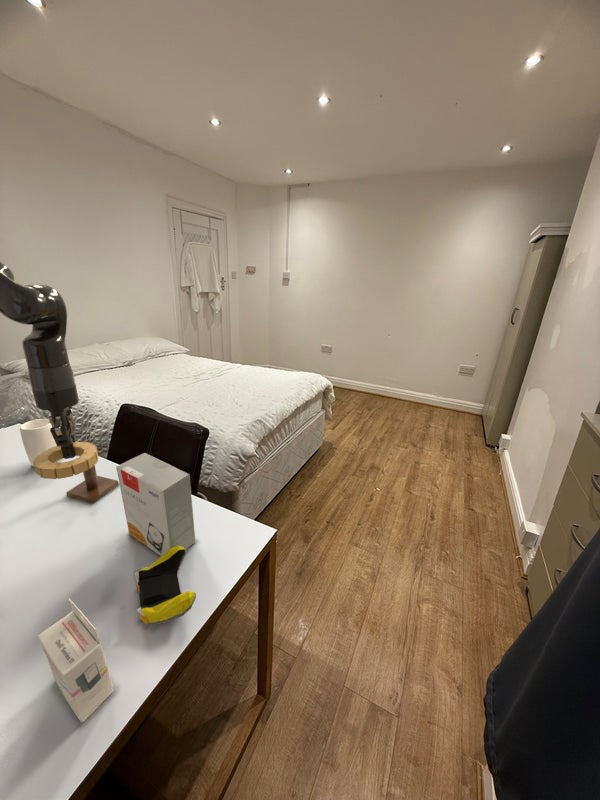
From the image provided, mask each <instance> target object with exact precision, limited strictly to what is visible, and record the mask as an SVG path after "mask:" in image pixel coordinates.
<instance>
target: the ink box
mask: <svg viewBox="0 0 600 800" xmlns="http://www.w3.org/2000/svg"><path fill="white" fill-rule="evenodd" d="M67 600H68V602H69V604H70V606H71V609H72V611H71V612H69V613H68V614H66V615H65V616H63V617H62V618H61V619H59V620H58V621H56V622H54V623H53V624H52V625H50V626H49V627H47V628H46V629H45V630H44V631H42V632H41V633H39V634H38V635H37V638H38V641H39V644H40V645H41V648H42V651H43V652H44V655H45V658H46V660H47V662H48V665H49V668H50V671H51V674H52V676H53V678H54V681H55V684H56V686H57V687H58V689H59V691H60V692H61V693H62V695H63V697H64V698H65V700H66V701H67V703H68V705H69V706H70V708H71V709H72V711H73V712H74V714H75V716H76V717H77V718H78V720H79V722H80V723H84V722H86V720H87V719H88V718H89V717H90V716H91V715H92V714H93V713H94V712H95V711H96V710H97V709H98V708H99V707H100V706H101V704H103V702H105V701H106V699H108V697H110V696H111V695H112V693H113V692H114V691H115V689H114V688H115V687H114V685H113V682H112V677H111V675H110V671H109V668H108V665H107V660H106V657H105V653H104V651H103V647H102V643H101V641H100V637H99V634H98V632H97V629H96V628H95V626H94V625H93V624H92V623H91V621H90V620H89V619H88V617H86V615H84V613H83V612H82V611H81V609H80V608H78V606H77V605H76V604H75V603H74V601H72V599H70V598H68V599H67Z"/></svg>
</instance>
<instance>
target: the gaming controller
mask: <svg viewBox="0 0 600 800" xmlns="http://www.w3.org/2000/svg"><path fill="white" fill-rule="evenodd" d="M186 555H187V550H185V549H184V548H183V547H182V546H179V545H177V546H175V547H173V548H171V549H170V550H168V551H167V552H166V553H165V554H164V555H162V556H160V557H159V558H157V559H156V560H155V561H154V562H153V563H152V564H150V565H149V566H147V567H142V568H140V569H139V570H138V571H136V572H135V573H134V577H135V578H136V580H137V583H136V589H137V593H139V604H140V606H139V607H138V608H137V609H136V611H137V613H138V616H139V619H140V620H141V621H142V623H144V624H146V625H150V626H154V625H159V624H165V623H168V622H171V621H173V620H176V619H179V618H180V617H183V616H184V615H185V614H187V613H188V612H189V611H190V610H191V609H192V608H193V605H194V603H195V601H196V598H197V593H196V592H195V591H193V590H186V591H185V592H181V591H182V590H181V587H180V582H179V581H180V580H179V576H178V575H179V571H180V569H181V566H182V564H183V562H184V559H185V557H186Z"/></svg>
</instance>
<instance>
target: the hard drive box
mask: <svg viewBox="0 0 600 800" xmlns="http://www.w3.org/2000/svg"><path fill="white" fill-rule="evenodd" d="M115 468H116V473H117V479H118V484H119V488H120V493H121V494H120V495H121V498H122V499H121V500H122V504H123V508H124V509H123V510H124V515H125V519H126V520H125V521H126V525H127V529H128V535H130V536H131V537H133V538H134V539H135V540H137V541H138V542H140V543H142V544H143V545H144V546H145V547H147V548H149V549H150V550H152V551H153V552H155V553H156V554H157V555H159V556H160V557H161V556H162V555H164V554H165V553H166V552H167V551H168V550H170V549H171V548H173V547H175V546H177V545H179V546H182V547H183V548H184V549H185V551H187V550H188V549H189V548H190V547H192V546H193V545H194V544H195V543H196V533H195V522H194V521H195V520H194V509H193V499H192V497H193V496H192V487H191V476H190V473H187V472H186V471H183V470H181V469H179V468H177V467H175V466H173V465H171V464H169V463H167V462H165V461H163V460H160V459H159V458H156V457H154V456H153V455H150V454H148V453H146V452H144V453H143V452H142V453H141V454H139V455H137V456H135V457H133V458H130V459H129V460H126V461H125V462H122V463H121V464H119V465H117V466H115Z"/></svg>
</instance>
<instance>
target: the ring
mask: <svg viewBox="0 0 600 800" xmlns="http://www.w3.org/2000/svg"><path fill="white" fill-rule="evenodd" d="M73 446H74V451H75V457H77V458H74V459H72V460H69V461H63V462H59V461H60V460H64V458H63V454H62V450H61V446H59V447H57V446H55V447H52V448H49V449H48V450H45V451H44V452H42V453H41V454H39V455H38V456H37V457H36V458H35V460H34V463H33V464H34V466H33V467H34V471H35V474H36V475H38V476H39V477H40V478H42V479H45V480H57V479H58V480H61V479H65V478H70V477H74V476H77V475H79V474H83V472H84V471H87V470H88V469H90V468H91V467H93V466H94V465H95V466H96V464H97V463H98V462H99V453H98V447H97V445H95V444H92V443H91V442H87V441H86V442H85V441H75V442H73ZM58 460H59V461H58ZM56 461H57V462H56Z"/></svg>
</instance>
